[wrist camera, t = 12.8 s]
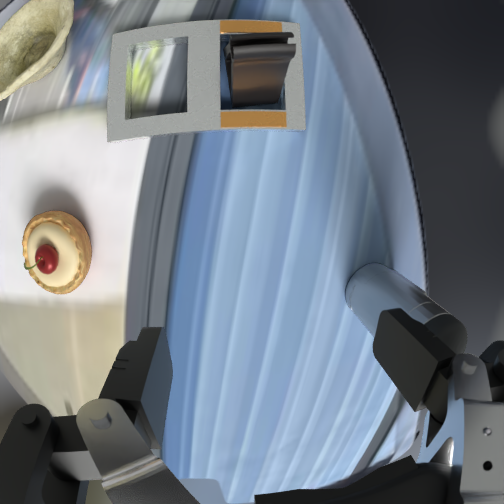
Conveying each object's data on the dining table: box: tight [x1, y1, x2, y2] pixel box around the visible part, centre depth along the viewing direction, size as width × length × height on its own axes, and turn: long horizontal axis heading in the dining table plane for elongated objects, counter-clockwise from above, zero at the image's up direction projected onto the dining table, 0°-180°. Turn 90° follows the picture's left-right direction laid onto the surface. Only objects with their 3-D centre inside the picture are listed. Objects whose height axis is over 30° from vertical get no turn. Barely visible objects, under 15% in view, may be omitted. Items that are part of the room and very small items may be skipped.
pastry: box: [22, 211, 92, 294], centre depth 32 cm, size 12×12×9 cm
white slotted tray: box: [107, 20, 306, 143], centre depth 30 cm, size 25×16×3 cm, turn 92°
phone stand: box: [223, 32, 296, 108], centre depth 26 cm, size 9×6×12 cm, turn 8°
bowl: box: [0, 0, 74, 101], centre depth 19 cm, size 14×18×15 cm
